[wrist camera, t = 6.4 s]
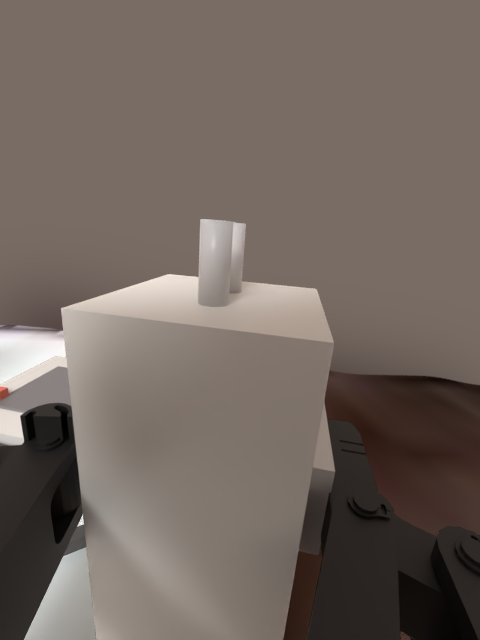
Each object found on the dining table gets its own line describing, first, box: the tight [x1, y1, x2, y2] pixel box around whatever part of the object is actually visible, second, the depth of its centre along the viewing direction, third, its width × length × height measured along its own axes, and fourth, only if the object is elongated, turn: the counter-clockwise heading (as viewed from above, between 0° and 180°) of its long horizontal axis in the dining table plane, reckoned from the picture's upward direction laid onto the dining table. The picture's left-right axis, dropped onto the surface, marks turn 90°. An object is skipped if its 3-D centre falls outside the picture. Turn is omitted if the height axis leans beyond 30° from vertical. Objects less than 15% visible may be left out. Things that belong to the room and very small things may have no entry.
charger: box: [61, 219, 334, 640], centre depth 9 cm, size 5×5×14 cm
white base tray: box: [0, 356, 71, 446], centre depth 22 cm, size 20×10×3 cm, turn 79°
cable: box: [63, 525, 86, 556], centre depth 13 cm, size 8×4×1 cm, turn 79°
